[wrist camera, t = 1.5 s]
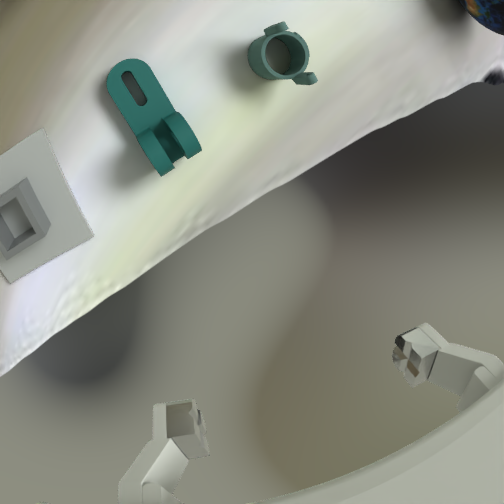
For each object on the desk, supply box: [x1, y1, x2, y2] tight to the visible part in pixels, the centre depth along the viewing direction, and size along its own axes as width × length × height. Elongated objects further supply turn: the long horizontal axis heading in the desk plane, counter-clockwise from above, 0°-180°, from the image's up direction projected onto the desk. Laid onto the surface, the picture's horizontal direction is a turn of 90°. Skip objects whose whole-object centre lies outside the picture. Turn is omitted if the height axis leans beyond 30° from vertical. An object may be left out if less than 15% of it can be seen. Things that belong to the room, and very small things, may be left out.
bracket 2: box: [248, 22, 318, 85], centre depth 38 cm, size 9×9×9 cm
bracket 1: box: [107, 59, 202, 177], centre depth 36 cm, size 18×7×8 cm, turn 27°
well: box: [0, 127, 94, 284], centre depth 34 cm, size 20×20×6 cm
